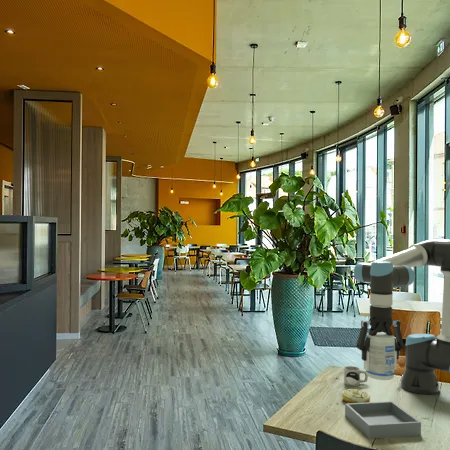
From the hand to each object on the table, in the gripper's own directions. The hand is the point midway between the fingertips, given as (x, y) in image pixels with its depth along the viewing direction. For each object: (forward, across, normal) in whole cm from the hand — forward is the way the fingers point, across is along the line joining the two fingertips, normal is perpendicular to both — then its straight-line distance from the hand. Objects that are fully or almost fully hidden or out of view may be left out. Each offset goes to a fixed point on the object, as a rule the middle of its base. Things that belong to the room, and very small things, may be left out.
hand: (380, 369), depth 165 cm
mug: (+20, -10, -40) cm, 46 cm away
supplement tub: (+3, 0, 0) cm, 3 cm away
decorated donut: (+20, -1, -21) cm, 29 cm away
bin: (+19, 0, +1) cm, 20 cm away
